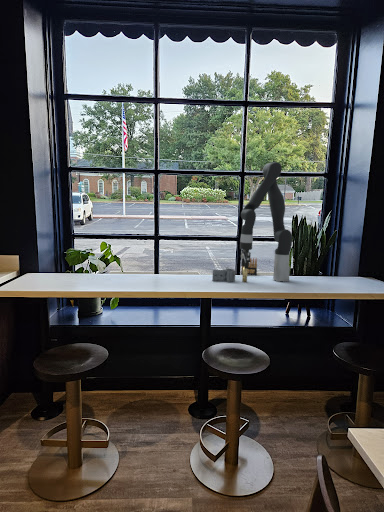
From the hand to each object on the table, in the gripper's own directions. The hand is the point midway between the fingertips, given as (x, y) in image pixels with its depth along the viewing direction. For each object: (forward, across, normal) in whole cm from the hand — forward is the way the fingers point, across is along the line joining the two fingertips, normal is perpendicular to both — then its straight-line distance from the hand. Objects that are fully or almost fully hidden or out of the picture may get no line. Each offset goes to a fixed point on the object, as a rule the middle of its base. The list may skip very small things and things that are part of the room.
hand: (244, 267), depth 218 cm
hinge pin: (+9, 0, -1) cm, 9 cm away
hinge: (+9, +7, +12) cm, 17 cm away
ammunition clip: (+9, +22, -10) cm, 26 cm away
